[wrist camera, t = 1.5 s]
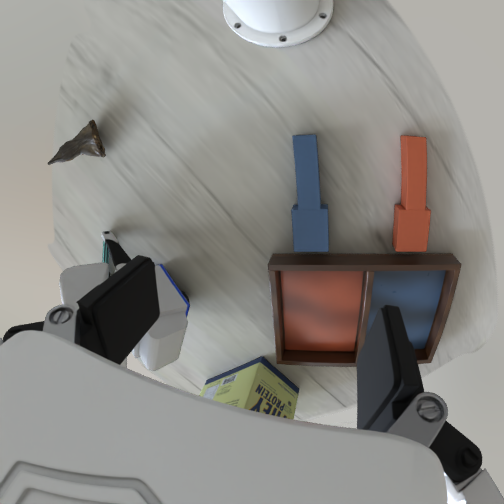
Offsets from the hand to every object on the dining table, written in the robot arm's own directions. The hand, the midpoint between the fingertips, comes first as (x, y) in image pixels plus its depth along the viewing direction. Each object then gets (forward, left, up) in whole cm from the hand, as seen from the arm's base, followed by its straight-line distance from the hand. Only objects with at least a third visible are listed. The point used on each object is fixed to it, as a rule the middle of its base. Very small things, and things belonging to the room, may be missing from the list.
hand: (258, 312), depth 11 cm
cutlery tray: (+16, +8, -23) cm, 29 cm away
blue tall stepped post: (0, +1, -23) cm, 23 cm away
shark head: (-10, -30, -23) cm, 39 cm away
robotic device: (+13, -24, -23) cm, 36 cm away
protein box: (+35, -10, -23) cm, 43 cm away
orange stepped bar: (0, +13, -23) cm, 26 cm away
